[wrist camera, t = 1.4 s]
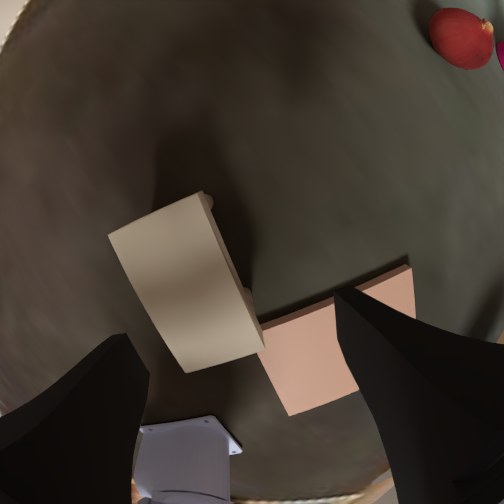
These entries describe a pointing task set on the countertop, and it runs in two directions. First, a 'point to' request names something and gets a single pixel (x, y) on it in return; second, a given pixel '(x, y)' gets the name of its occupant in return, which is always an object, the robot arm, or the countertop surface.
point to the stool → (189, 284)
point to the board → (322, 345)
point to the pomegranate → (461, 38)
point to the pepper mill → (501, 53)
